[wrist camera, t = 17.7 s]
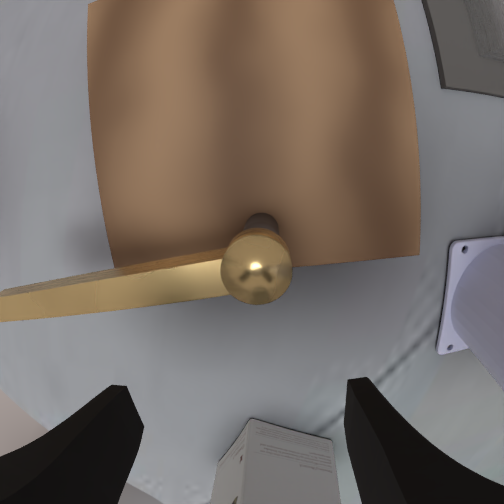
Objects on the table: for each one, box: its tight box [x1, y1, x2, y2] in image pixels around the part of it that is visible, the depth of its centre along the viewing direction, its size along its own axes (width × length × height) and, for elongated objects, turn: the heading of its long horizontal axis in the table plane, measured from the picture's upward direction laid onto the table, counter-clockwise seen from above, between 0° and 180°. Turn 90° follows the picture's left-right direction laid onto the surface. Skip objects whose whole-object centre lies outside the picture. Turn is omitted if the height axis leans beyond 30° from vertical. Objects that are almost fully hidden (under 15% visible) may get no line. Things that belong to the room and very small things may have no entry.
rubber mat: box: [422, 0, 504, 98], centre depth 12 cm, size 10×10×1 cm
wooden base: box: [87, 0, 421, 268], centre depth 12 cm, size 16×16×6 cm
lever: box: [0, 228, 292, 322], centre depth 11 cm, size 14×2×1 cm, turn 101°
